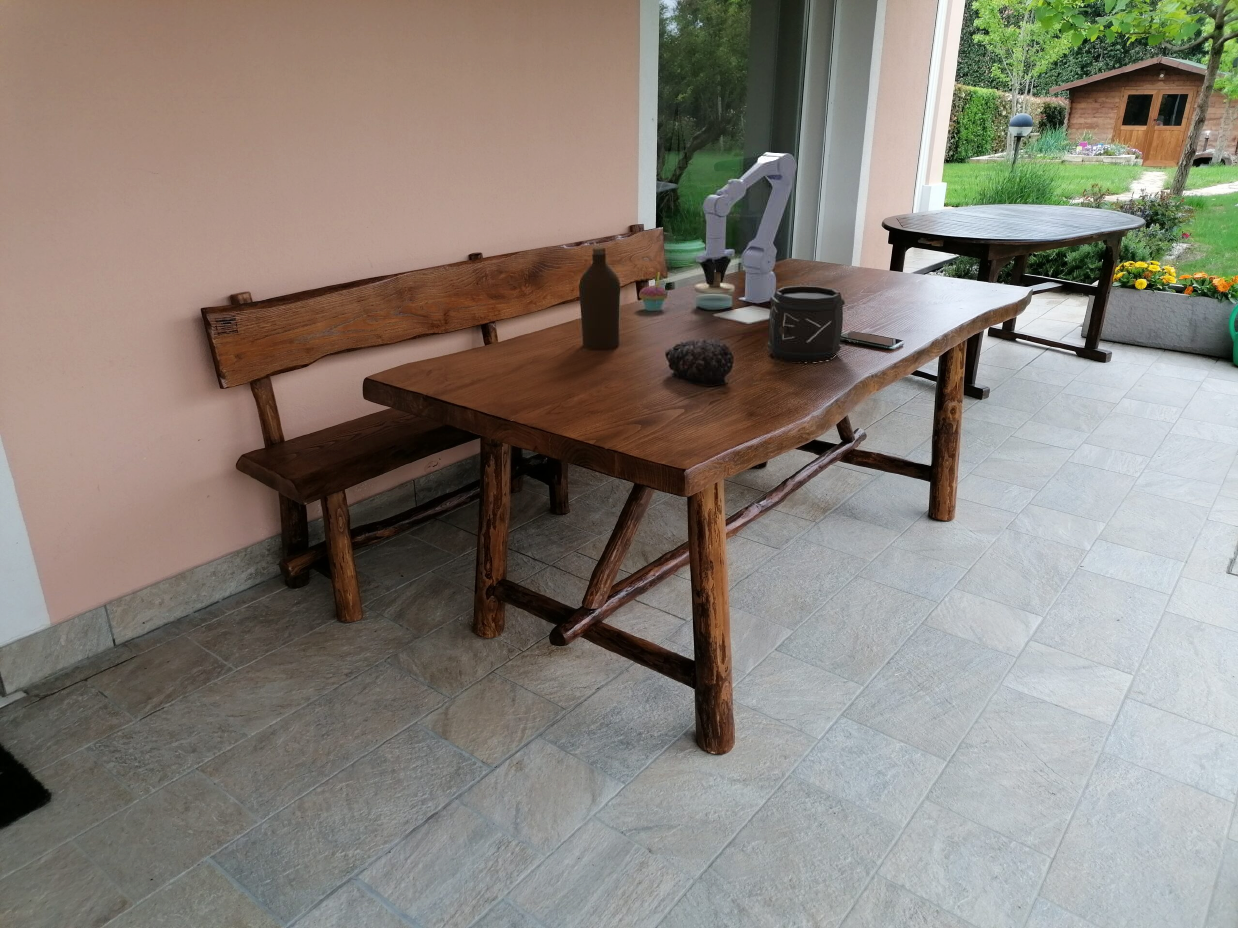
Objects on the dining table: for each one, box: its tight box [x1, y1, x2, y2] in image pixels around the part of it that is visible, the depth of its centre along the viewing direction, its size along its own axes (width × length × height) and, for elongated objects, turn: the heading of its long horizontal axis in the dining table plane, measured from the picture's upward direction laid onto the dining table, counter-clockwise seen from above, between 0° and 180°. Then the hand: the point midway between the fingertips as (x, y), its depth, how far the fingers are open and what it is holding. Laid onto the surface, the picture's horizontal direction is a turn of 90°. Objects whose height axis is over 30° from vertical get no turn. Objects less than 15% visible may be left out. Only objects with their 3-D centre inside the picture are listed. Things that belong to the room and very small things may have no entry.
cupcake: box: [638, 269, 668, 312], centre depth 267 cm, size 9×8×12 cm
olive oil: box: [578, 246, 622, 351], centre depth 226 cm, size 11×11×25 cm
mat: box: [712, 305, 771, 325], centre depth 260 cm, size 17×14×1 cm
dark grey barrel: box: [766, 285, 846, 364], centre depth 217 cm, size 18×18×16 cm
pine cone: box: [665, 337, 734, 387], centre depth 201 cm, size 10×18×10 cm, turn 53°
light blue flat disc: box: [695, 293, 733, 311], centre depth 270 cm, size 11×11×3 cm
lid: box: [694, 271, 735, 295], centre depth 267 cm, size 12×12×5 cm
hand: (714, 283), depth 267 cm, fingers closed on lid, 3 cm apart
